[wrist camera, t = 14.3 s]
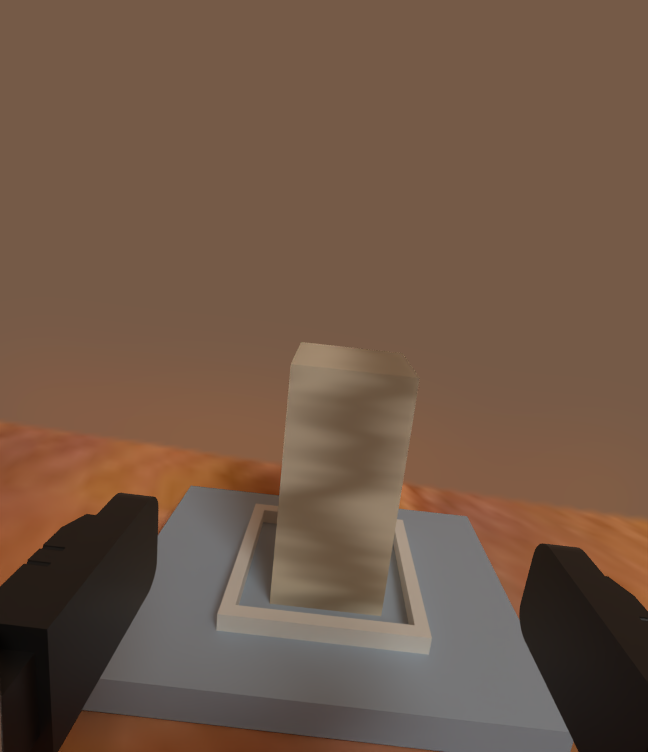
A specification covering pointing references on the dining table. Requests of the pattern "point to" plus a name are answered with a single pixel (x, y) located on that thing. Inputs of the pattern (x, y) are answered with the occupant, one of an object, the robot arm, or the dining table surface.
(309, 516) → the pillar
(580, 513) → the dining table surface
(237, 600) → the board
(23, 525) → the dining table surface
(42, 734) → the robot arm
